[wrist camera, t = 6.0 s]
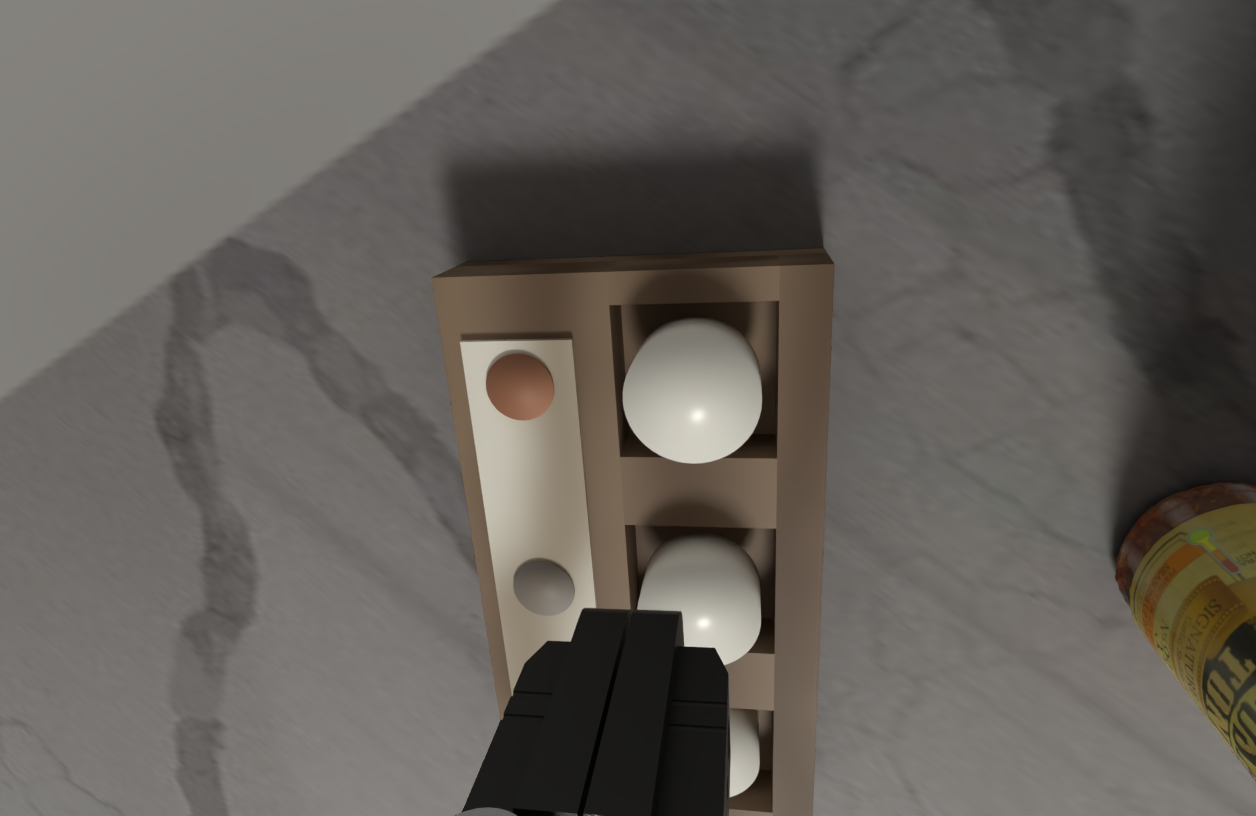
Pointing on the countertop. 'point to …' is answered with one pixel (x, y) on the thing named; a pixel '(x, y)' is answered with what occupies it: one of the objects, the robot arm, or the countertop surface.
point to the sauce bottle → (1201, 600)
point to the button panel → (644, 463)
